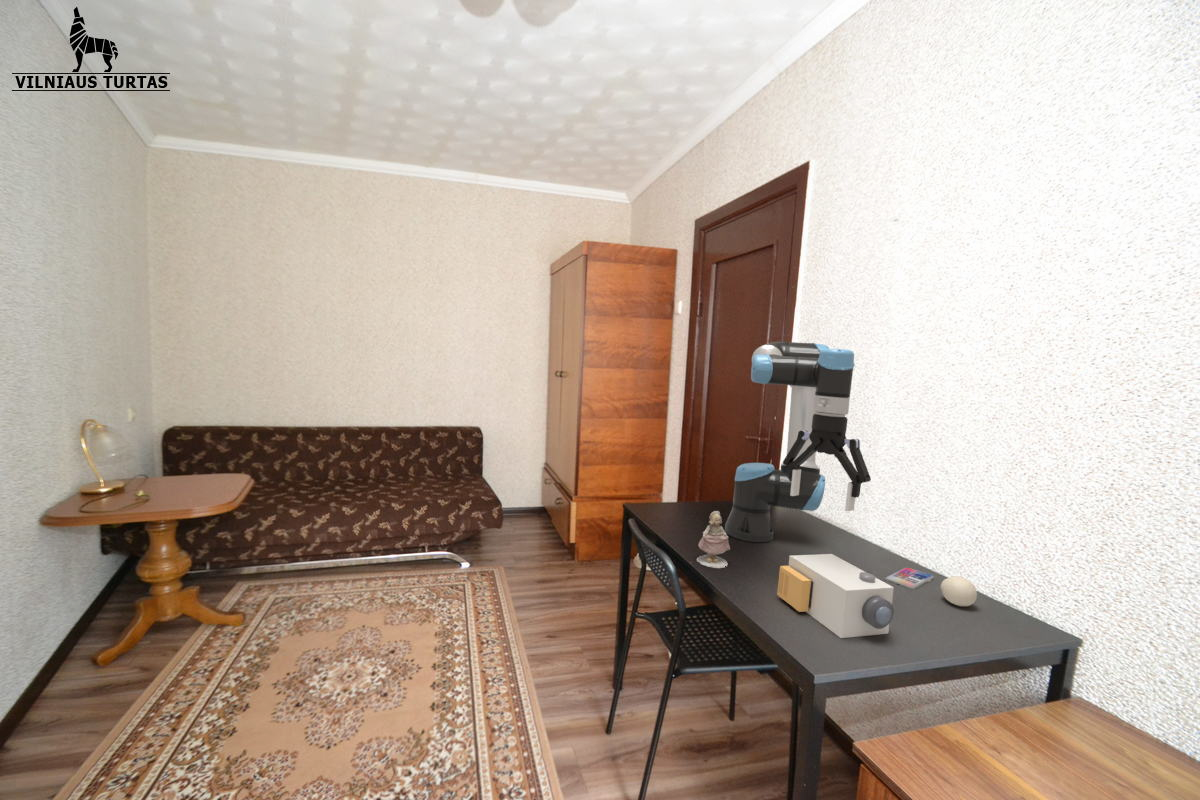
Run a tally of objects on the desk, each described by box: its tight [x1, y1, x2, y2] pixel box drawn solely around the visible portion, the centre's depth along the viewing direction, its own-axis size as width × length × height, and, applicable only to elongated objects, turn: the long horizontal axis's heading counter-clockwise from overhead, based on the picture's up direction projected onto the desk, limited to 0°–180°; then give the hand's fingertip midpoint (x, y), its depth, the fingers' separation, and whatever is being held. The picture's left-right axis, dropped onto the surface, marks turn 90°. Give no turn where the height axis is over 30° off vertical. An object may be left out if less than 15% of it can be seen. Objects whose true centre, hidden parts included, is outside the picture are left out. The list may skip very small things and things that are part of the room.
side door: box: [776, 565, 811, 613], centre depth 113 cm, size 8×2×7 cm, turn 16°
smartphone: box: [884, 567, 935, 590], centre depth 134 cm, size 7×1×15 cm
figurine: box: [689, 510, 731, 569], centre depth 136 cm, size 11×10×15 cm
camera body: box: [788, 553, 895, 639], centre depth 109 cm, size 21×12×11 cm, turn 16°
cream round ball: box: [940, 576, 978, 607], centre depth 120 cm, size 7×7×7 cm
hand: (820, 502), depth 119 cm, fingers open, 13 cm apart
